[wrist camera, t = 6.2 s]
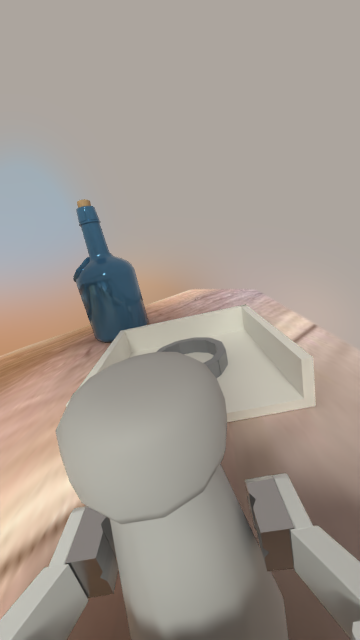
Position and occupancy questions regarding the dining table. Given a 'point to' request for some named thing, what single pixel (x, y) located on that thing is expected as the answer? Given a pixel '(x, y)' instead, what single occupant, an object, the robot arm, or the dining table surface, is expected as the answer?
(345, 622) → the robot arm
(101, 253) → the wine bottle
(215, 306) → the dining table surface
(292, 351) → the box
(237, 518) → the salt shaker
